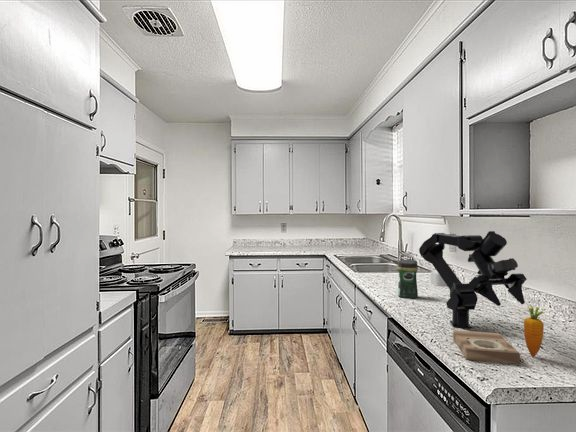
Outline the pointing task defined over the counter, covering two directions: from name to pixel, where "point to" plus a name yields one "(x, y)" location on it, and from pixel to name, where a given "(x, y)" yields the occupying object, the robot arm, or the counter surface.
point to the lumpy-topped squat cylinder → (437, 279)
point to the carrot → (533, 331)
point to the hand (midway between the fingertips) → (511, 304)
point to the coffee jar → (407, 279)
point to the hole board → (485, 347)
